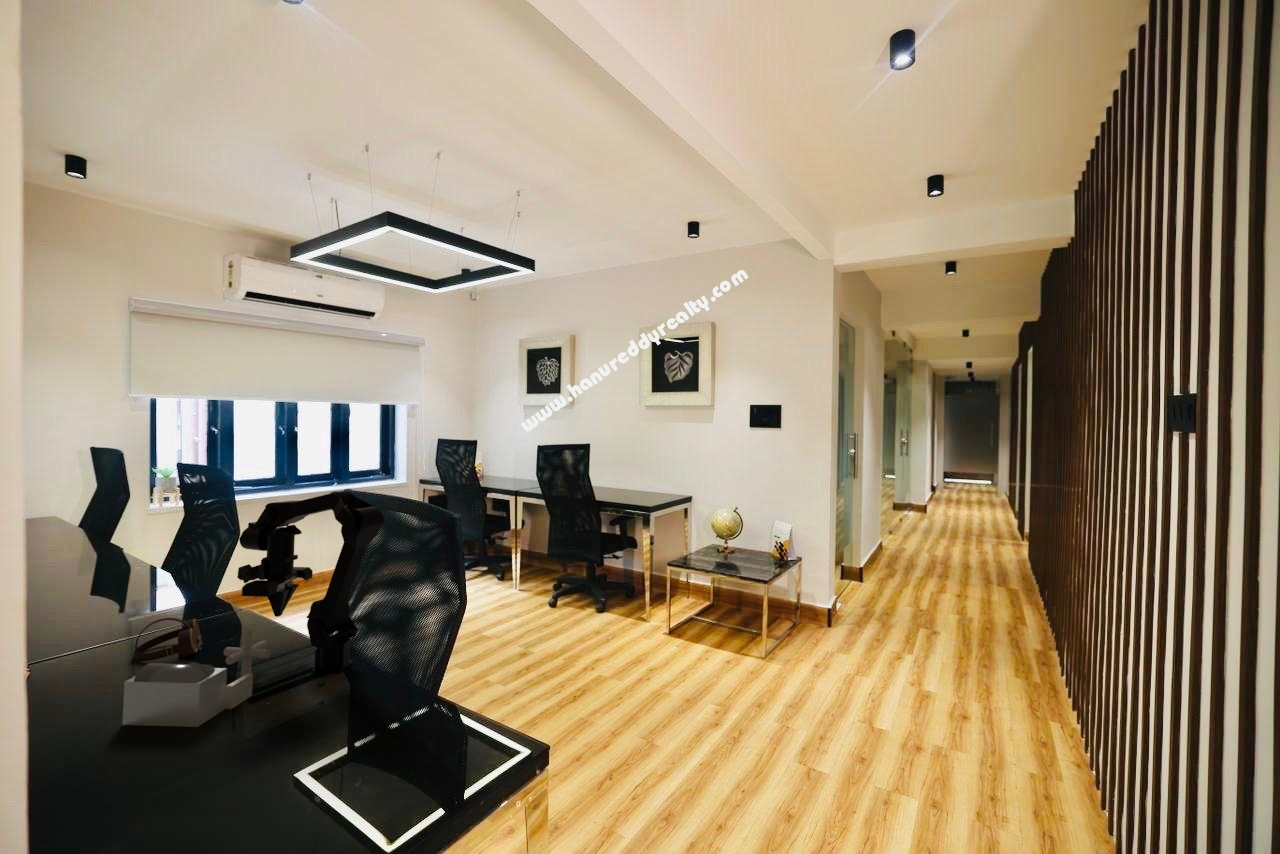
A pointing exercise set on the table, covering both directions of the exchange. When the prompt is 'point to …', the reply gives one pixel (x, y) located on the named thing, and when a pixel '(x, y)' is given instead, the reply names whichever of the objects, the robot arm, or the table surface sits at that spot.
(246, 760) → the table surface
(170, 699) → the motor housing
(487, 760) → the table surface
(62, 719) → the table surface
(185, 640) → the goggles
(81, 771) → the table surface
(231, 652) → the pipe connector
